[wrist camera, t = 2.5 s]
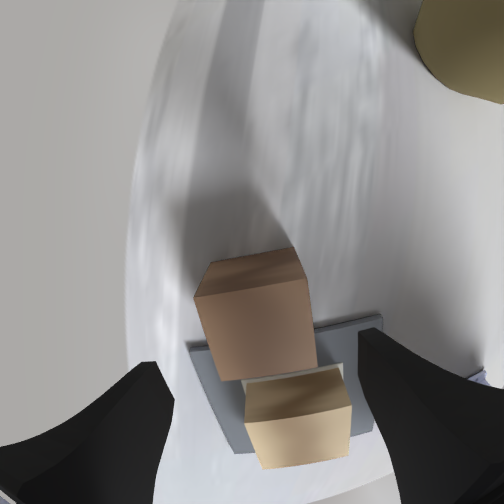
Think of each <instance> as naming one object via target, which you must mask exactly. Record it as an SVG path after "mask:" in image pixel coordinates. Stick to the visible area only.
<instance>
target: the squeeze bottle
mask: <svg viewBox="0 0 504 504" xmlns="http://www.w3.org/2000/svg"><path fill="white" fill-rule="evenodd" d="M413 34H414V39H415V45H416V48H417V50H418V52H419V54H420V56H421V58H422V60H423V62H424V64H425V65H426V66H427V67H428V69H429V70H430V71H431V72H432V74H433V75H434V76H435V78H437V79H438V80H439V81H440V82H442V83H443V84H444V85H445V86H446V87H448V88H449V89H451V90H454V91H456V92H458V93H461V94H464V95H469V96H473V97H477V98H480V99H484V100H488V101H491V102H495V103H498V104H504V0H423V2H422V5H421V8H420V11H419V14H418V17H417V20H416V24H415V27H414V30H413Z"/></svg>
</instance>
